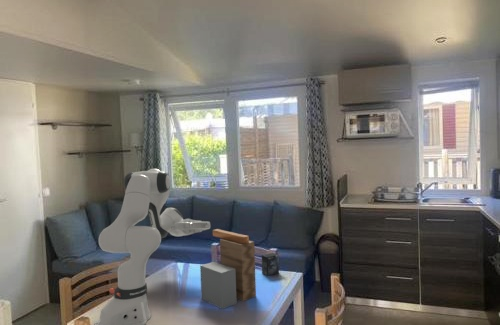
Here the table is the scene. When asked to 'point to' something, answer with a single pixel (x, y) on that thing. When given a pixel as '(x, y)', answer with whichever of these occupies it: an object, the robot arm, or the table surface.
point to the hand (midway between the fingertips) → (199, 224)
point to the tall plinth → (240, 266)
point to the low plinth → (218, 284)
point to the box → (270, 264)
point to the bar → (231, 236)
